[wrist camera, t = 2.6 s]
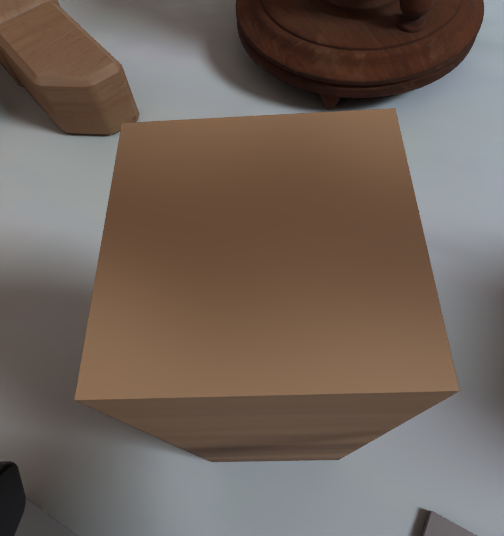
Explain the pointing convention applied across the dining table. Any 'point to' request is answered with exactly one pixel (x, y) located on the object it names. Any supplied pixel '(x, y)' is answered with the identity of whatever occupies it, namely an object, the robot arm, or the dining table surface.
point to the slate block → (40, 523)
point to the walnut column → (264, 287)
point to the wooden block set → (64, 68)
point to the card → (442, 527)
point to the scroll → (358, 42)
